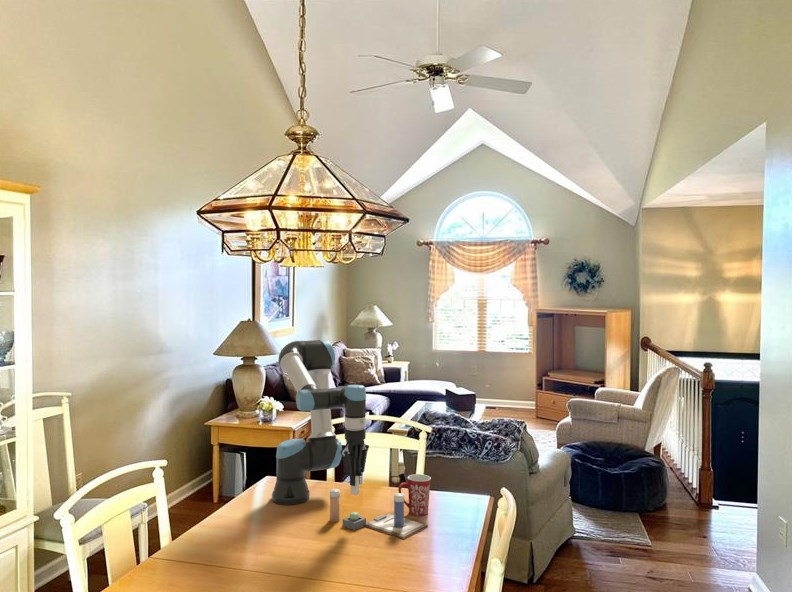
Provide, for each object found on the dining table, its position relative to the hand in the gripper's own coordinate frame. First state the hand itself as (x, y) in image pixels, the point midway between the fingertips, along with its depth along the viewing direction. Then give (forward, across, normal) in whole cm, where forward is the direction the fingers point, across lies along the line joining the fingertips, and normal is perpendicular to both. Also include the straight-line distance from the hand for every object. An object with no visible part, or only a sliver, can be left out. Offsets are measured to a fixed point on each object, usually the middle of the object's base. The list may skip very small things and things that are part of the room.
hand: (354, 493), depth 212 cm
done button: (+10, 0, 0) cm, 10 cm away
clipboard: (+12, +9, -12) cm, 19 cm away
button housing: (+12, 0, 0) cm, 12 cm away
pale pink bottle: (+12, -1, +9) cm, 15 cm away
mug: (+12, +24, -9) cm, 28 cm away
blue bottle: (+11, +8, -14) cm, 19 cm away
